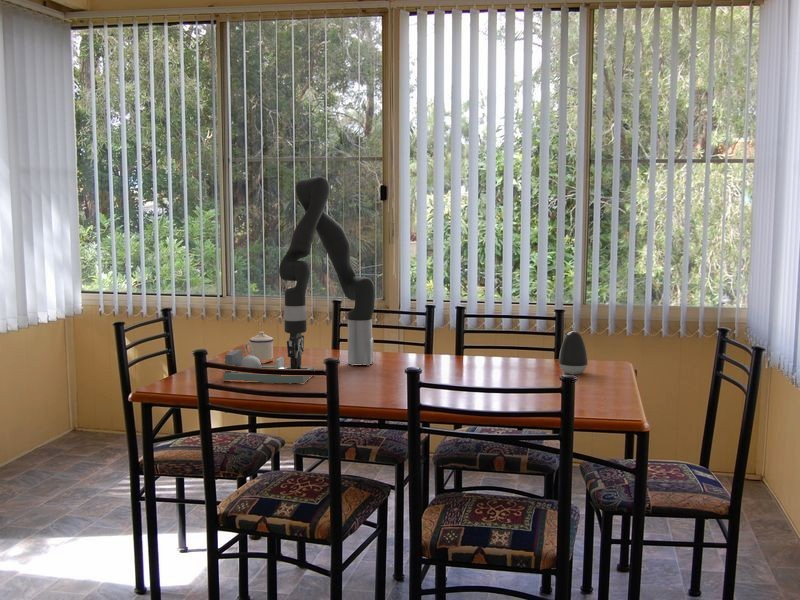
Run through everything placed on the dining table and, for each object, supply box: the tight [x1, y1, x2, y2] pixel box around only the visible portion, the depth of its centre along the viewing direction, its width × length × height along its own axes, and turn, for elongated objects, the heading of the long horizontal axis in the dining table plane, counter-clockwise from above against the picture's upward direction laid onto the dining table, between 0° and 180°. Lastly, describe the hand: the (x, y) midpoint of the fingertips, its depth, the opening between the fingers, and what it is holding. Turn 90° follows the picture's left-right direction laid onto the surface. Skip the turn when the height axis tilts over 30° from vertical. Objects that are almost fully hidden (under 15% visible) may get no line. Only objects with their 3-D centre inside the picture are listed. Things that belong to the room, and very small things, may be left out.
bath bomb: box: [239, 355, 263, 368], centre depth 289 cm, size 8×8×8 cm
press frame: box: [222, 349, 315, 385], centre depth 288 cm, size 28×15×9 cm, turn 82°
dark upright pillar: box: [274, 346, 302, 369], centre depth 287 cm, size 8×6×11 cm
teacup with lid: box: [243, 331, 274, 360], centre depth 321 cm, size 12×9×12 cm
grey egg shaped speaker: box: [558, 330, 589, 375], centre depth 298 cm, size 10×10×15 cm
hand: (296, 367), depth 287 cm, fingers open, 5 cm apart
